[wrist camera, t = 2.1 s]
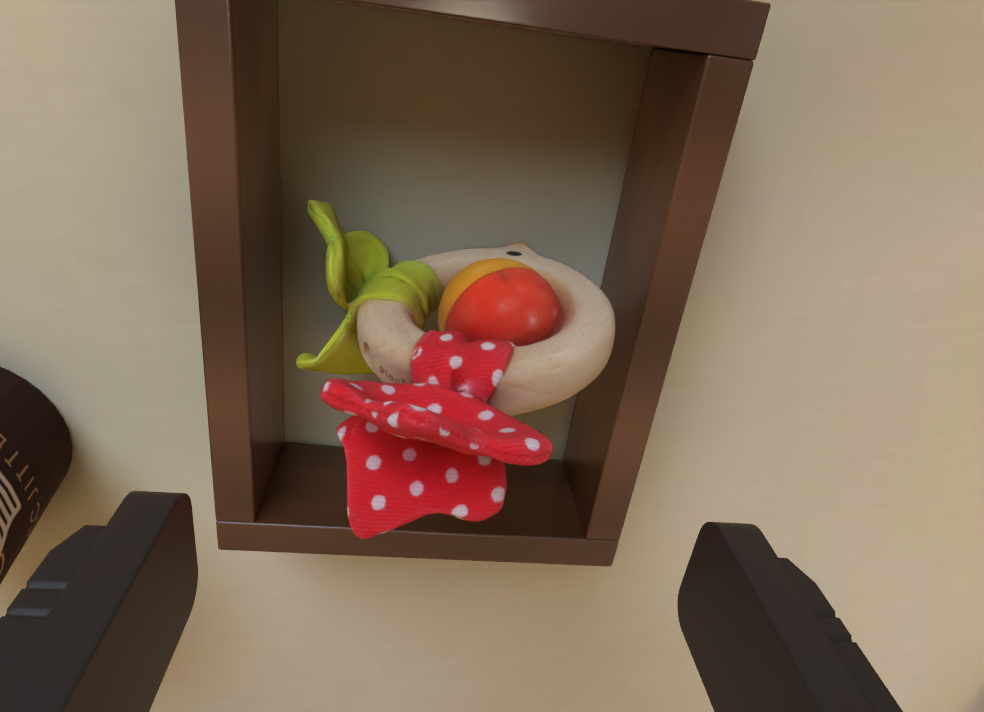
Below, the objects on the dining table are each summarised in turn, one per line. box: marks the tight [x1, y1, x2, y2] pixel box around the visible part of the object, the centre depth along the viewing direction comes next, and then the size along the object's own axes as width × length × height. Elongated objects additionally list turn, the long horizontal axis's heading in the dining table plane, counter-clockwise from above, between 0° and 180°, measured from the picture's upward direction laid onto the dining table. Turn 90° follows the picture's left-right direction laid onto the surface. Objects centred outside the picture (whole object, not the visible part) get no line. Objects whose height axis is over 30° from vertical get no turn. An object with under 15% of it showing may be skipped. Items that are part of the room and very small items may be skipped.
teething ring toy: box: [296, 200, 615, 539], centre depth 18 cm, size 6×11×9 cm
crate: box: [175, 0, 770, 566], centre depth 20 cm, size 17×13×4 cm
